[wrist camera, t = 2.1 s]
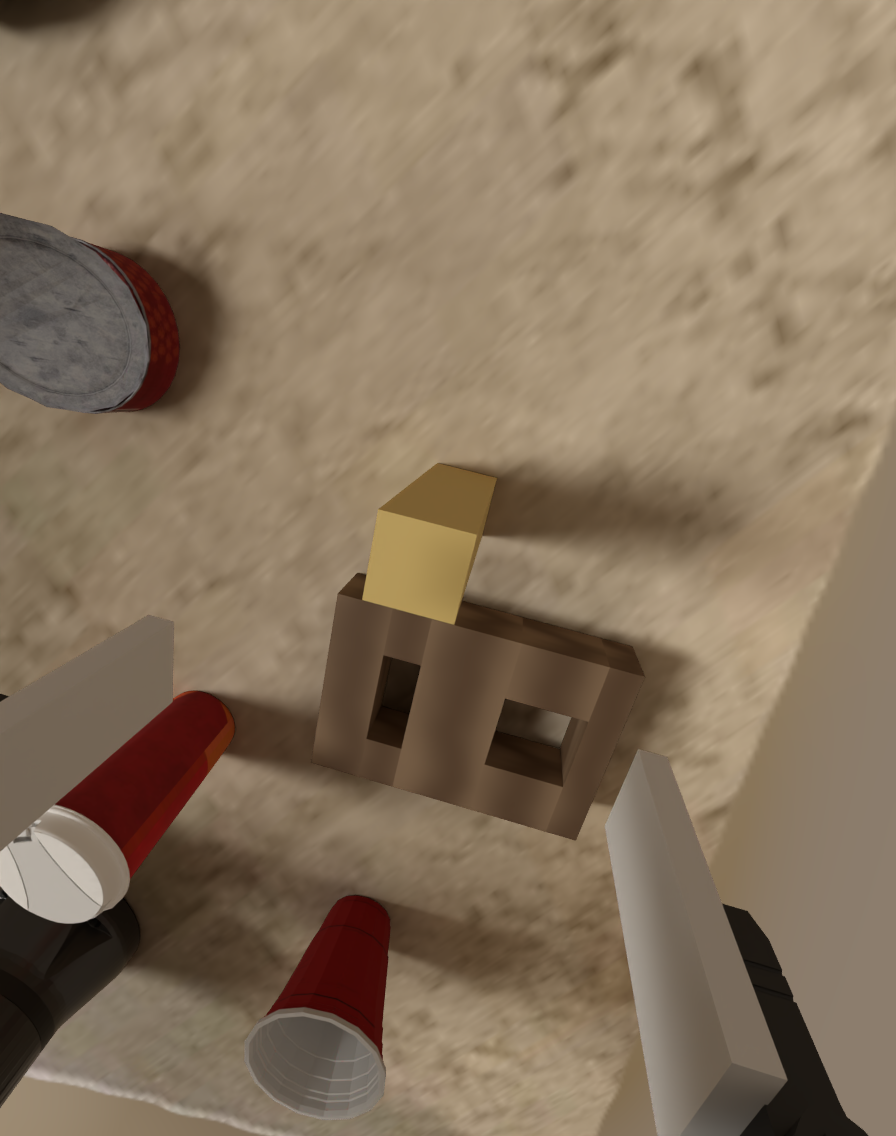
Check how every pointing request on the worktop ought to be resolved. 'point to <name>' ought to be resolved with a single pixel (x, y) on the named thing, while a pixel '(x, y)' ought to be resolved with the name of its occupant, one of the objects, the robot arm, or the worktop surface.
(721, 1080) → the robot arm
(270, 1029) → the plastic cup
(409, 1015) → the worktop surface
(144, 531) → the worktop surface
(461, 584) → the square peg
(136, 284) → the canned food
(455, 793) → the socket block
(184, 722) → the coffee cup
